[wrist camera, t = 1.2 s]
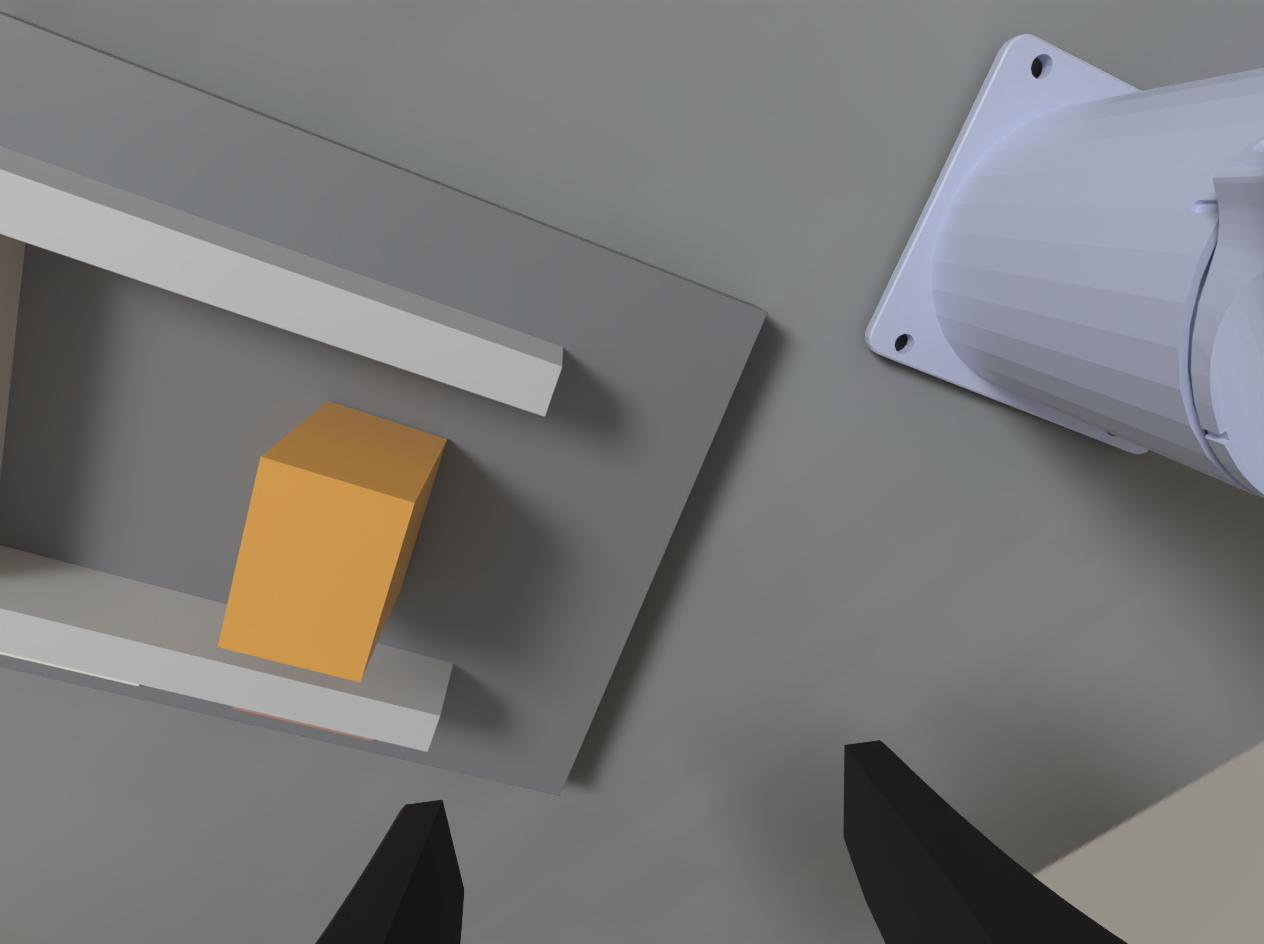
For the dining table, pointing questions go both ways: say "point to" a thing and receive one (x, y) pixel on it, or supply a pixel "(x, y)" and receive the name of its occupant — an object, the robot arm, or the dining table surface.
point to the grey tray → (300, 384)
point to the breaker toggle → (329, 540)
